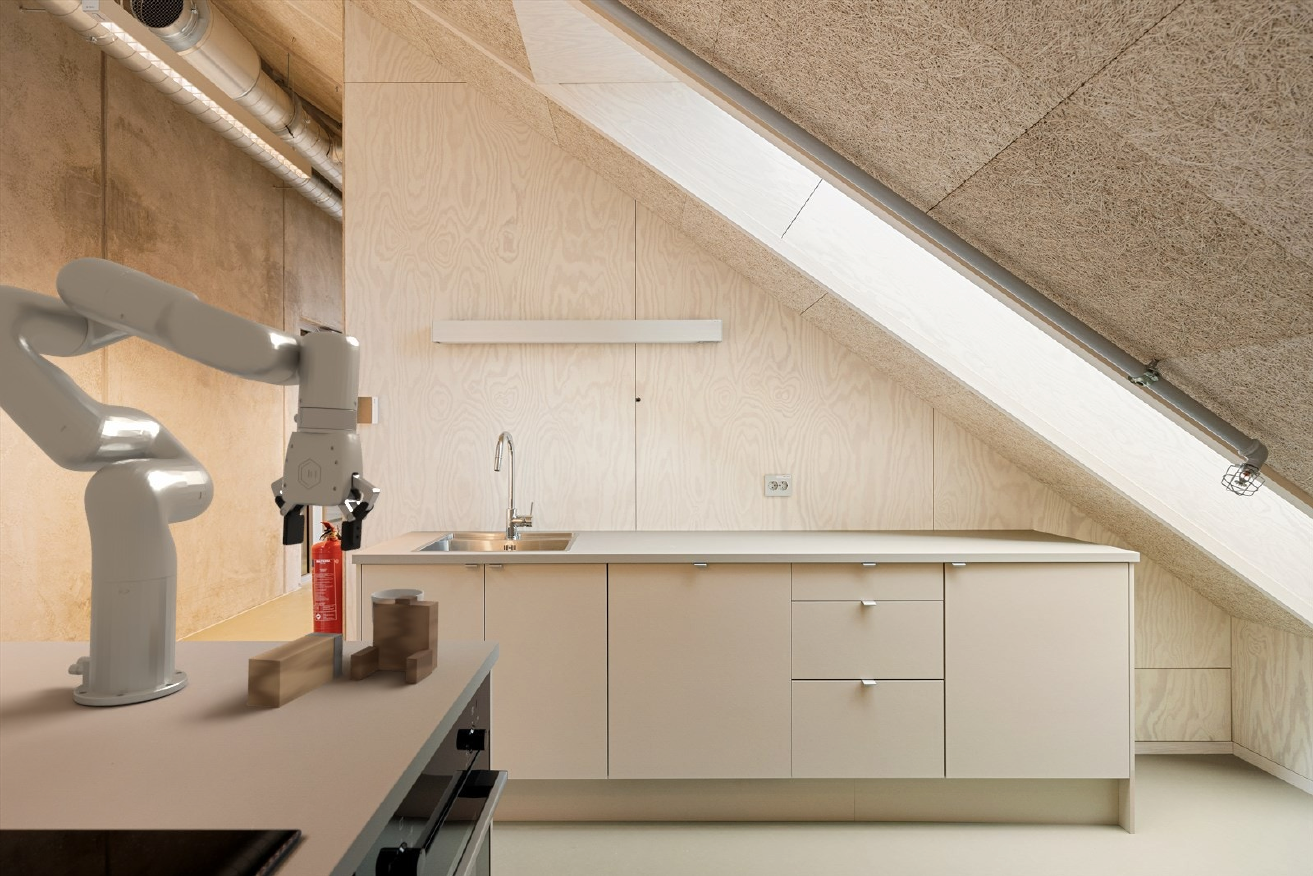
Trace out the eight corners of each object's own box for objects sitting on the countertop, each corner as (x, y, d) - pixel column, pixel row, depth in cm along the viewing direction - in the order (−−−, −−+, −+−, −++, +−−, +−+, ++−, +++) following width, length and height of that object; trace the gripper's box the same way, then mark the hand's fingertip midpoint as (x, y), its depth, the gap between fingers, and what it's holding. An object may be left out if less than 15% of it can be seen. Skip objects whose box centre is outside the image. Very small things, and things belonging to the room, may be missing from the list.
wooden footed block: (350, 679, 105) (351, 604, 105) (378, 663, 113) (380, 593, 113) (416, 683, 104) (418, 607, 104) (440, 667, 112) (442, 596, 112)
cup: (359, 660, 115) (361, 596, 115) (386, 646, 123) (388, 587, 123) (407, 663, 113) (408, 599, 113) (431, 649, 121) (432, 589, 121)
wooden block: (246, 705, 94) (247, 658, 94) (312, 672, 108) (313, 632, 108) (280, 707, 94) (281, 660, 94) (342, 674, 107) (342, 633, 108)
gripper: (255, 419, 99) (249, 545, 99) (360, 423, 94) (354, 555, 94) (297, 422, 106) (292, 539, 106) (397, 425, 101) (392, 548, 101)
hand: (321, 547), depth 100 cm, fingers open, 9 cm apart
